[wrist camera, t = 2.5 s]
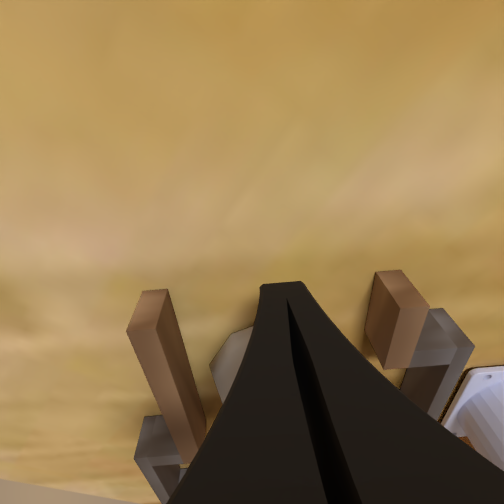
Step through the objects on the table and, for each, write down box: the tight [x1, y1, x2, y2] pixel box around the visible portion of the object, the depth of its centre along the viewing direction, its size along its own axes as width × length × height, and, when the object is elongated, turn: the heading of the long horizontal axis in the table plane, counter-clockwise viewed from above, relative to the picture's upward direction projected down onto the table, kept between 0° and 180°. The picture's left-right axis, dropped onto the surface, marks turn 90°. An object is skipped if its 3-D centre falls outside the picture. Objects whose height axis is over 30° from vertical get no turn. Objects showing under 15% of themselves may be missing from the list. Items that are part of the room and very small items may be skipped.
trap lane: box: [126, 270, 475, 504], centre depth 20 cm, size 18×26×2 cm
